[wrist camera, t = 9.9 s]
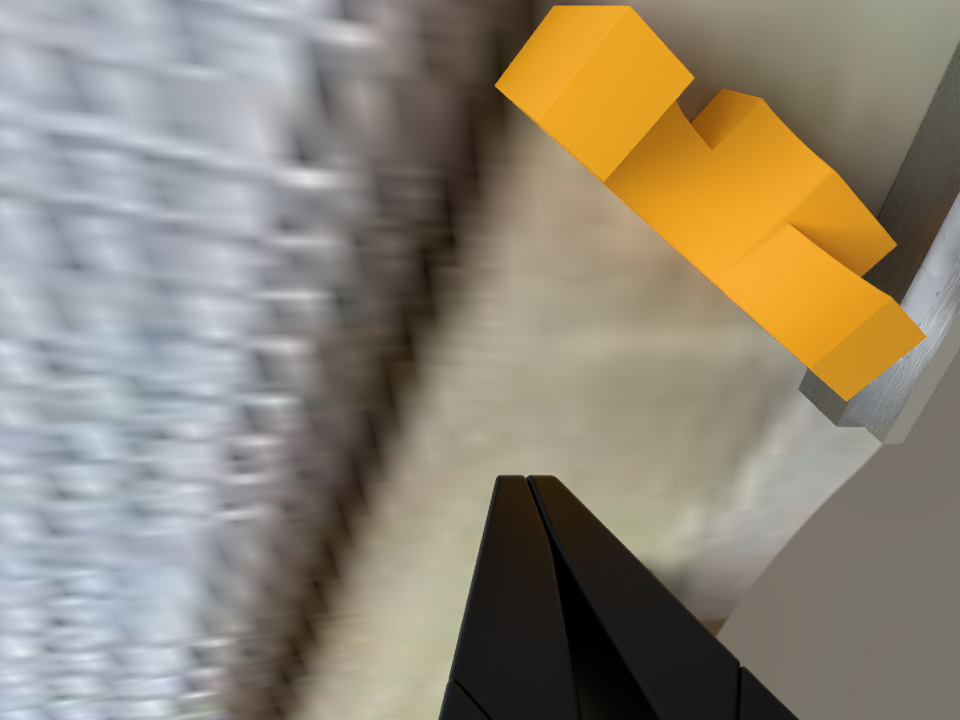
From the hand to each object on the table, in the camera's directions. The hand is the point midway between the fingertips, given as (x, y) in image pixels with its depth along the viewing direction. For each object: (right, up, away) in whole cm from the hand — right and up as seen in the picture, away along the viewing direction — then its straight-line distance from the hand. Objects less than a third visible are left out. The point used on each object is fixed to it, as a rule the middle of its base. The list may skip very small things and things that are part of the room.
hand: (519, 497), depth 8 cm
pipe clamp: (+6, +9, +11) cm, 15 cm away
